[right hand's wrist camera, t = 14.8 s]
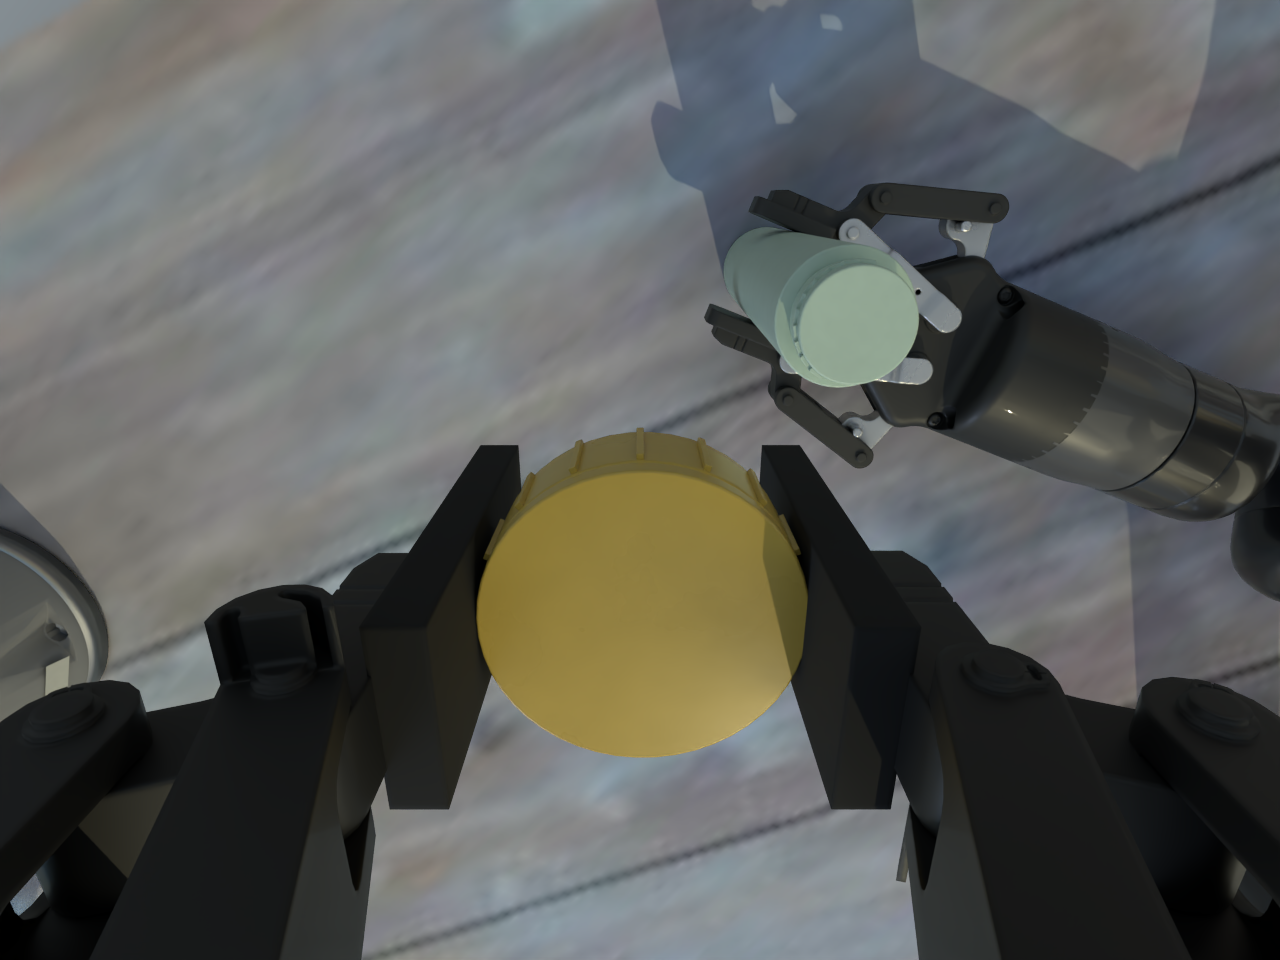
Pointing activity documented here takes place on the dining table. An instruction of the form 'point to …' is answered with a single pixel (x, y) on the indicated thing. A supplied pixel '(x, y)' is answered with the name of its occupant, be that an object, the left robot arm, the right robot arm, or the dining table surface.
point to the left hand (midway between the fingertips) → (731, 261)
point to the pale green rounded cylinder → (824, 303)
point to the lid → (642, 597)
